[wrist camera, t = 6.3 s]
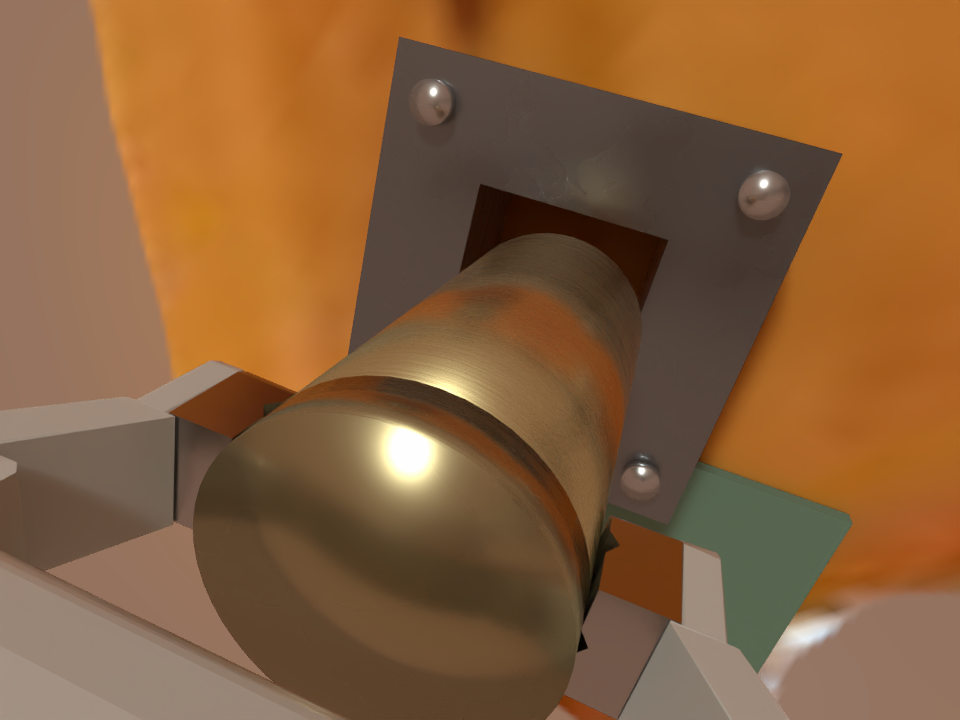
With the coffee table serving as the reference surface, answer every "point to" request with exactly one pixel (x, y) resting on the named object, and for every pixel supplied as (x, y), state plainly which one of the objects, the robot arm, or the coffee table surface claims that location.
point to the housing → (603, 195)
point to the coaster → (753, 549)
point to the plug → (434, 497)
